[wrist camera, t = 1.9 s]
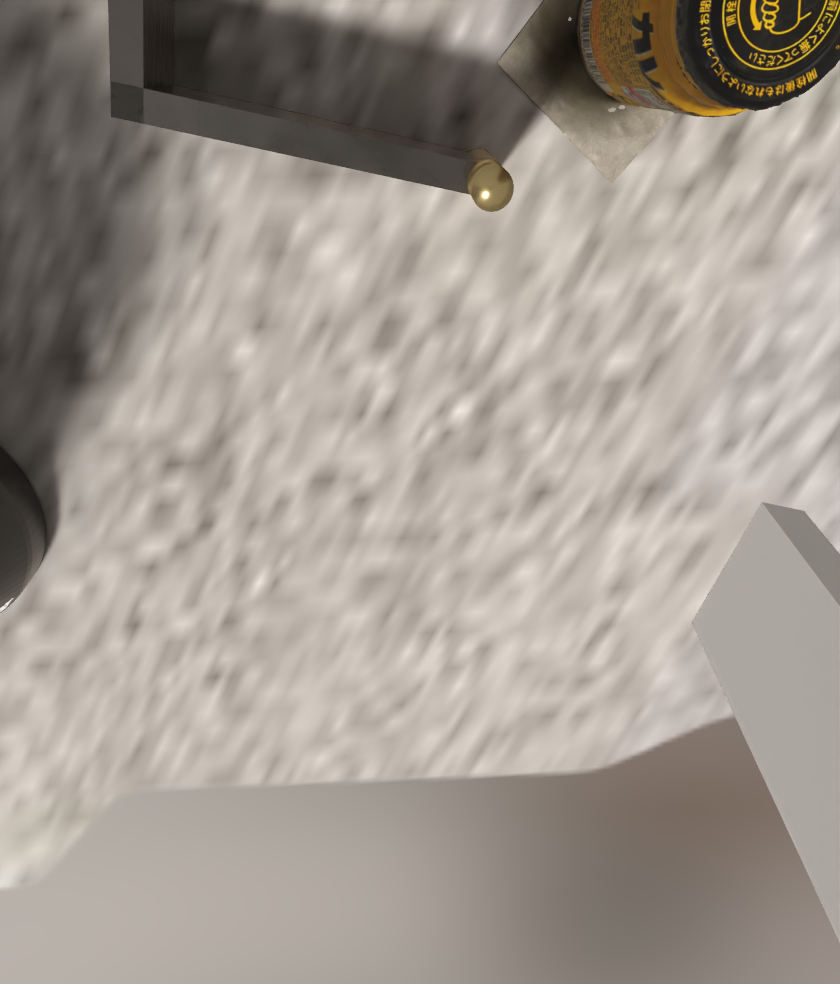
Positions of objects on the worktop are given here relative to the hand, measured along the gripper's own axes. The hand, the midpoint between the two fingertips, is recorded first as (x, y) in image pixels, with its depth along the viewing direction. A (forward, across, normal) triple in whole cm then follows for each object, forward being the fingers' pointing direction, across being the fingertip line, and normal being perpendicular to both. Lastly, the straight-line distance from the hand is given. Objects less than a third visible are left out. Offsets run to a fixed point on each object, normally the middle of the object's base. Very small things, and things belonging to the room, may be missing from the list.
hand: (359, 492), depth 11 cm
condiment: (+25, +8, +9) cm, 28 cm away
